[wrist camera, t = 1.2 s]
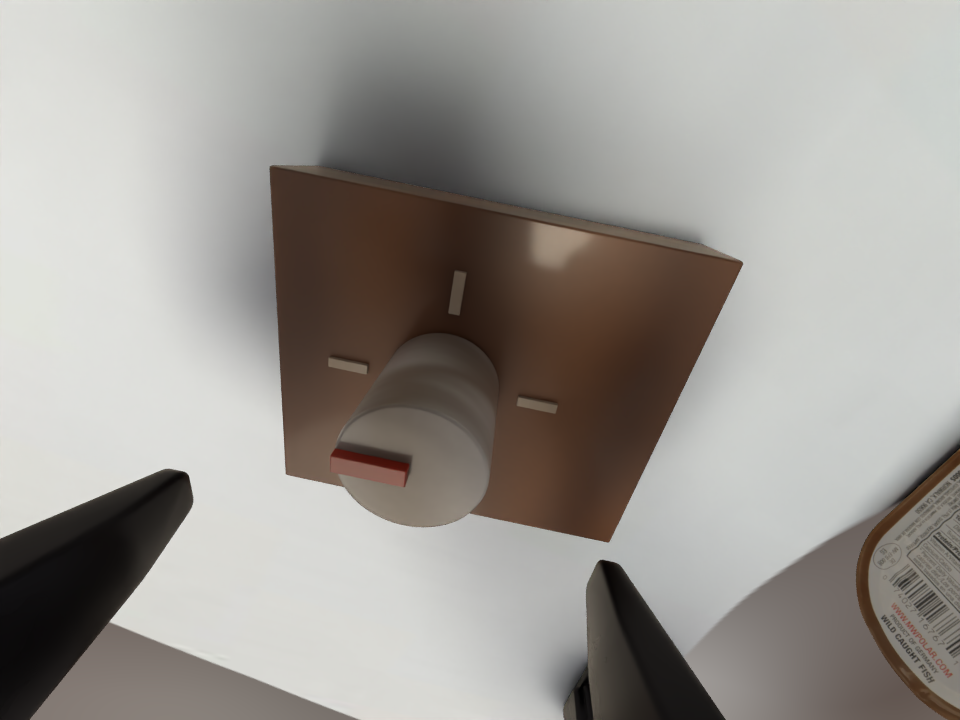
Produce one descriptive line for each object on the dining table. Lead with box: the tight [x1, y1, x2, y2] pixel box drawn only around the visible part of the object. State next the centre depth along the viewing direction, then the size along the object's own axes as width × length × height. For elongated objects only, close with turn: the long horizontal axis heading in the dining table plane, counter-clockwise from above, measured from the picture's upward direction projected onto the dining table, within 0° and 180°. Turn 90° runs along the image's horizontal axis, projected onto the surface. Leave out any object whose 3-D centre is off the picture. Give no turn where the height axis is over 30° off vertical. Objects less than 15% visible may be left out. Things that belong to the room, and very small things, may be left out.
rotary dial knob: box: [330, 333, 499, 527], centre depth 12 cm, size 4×4×5 cm
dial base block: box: [270, 165, 743, 542], centre depth 15 cm, size 14×12×3 cm
